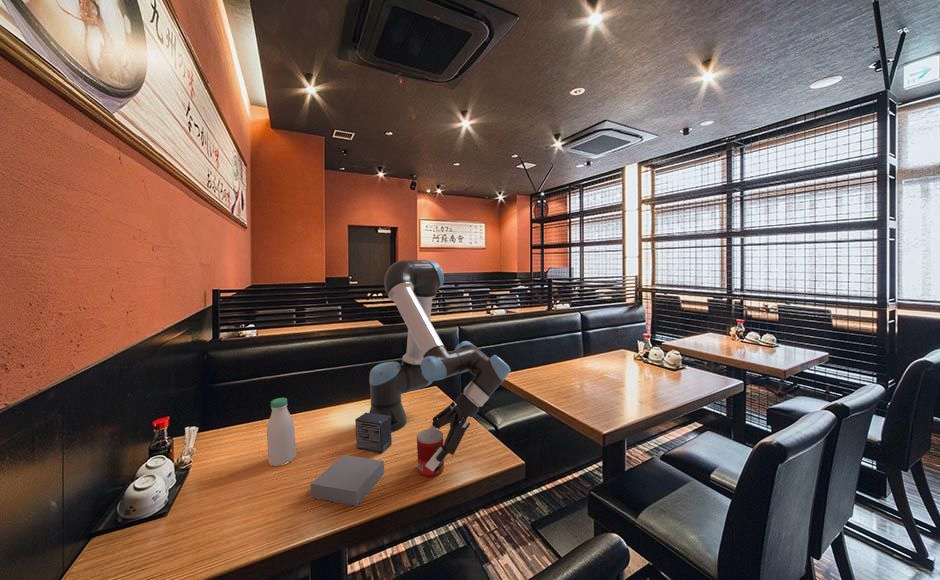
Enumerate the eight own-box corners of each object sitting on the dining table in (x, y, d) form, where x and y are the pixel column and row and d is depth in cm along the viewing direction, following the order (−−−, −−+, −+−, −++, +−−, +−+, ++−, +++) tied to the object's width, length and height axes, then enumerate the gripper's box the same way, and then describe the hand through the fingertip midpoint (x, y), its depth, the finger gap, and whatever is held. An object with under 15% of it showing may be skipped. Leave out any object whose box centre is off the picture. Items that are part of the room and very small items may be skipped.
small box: (393, 444, 117) (391, 415, 116) (382, 454, 111) (381, 423, 110) (367, 439, 120) (366, 411, 120) (355, 449, 114) (354, 419, 113)
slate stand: (343, 467, 104) (343, 454, 103) (384, 473, 100) (383, 460, 100) (311, 497, 90) (310, 483, 90) (357, 506, 87) (356, 491, 86)
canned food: (440, 479, 97) (439, 442, 96) (414, 476, 99) (412, 440, 98) (447, 463, 105) (446, 429, 104) (422, 461, 106) (421, 427, 105)
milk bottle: (301, 456, 110) (297, 397, 109) (279, 469, 103) (275, 406, 102) (285, 451, 114) (282, 394, 112) (263, 463, 107) (259, 402, 105)
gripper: (494, 424, 93) (443, 487, 90) (468, 392, 117) (426, 441, 113) (475, 408, 91) (422, 472, 88) (453, 379, 115) (410, 429, 111)
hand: (424, 455), depth 101 cm, fingers open, 13 cm apart
